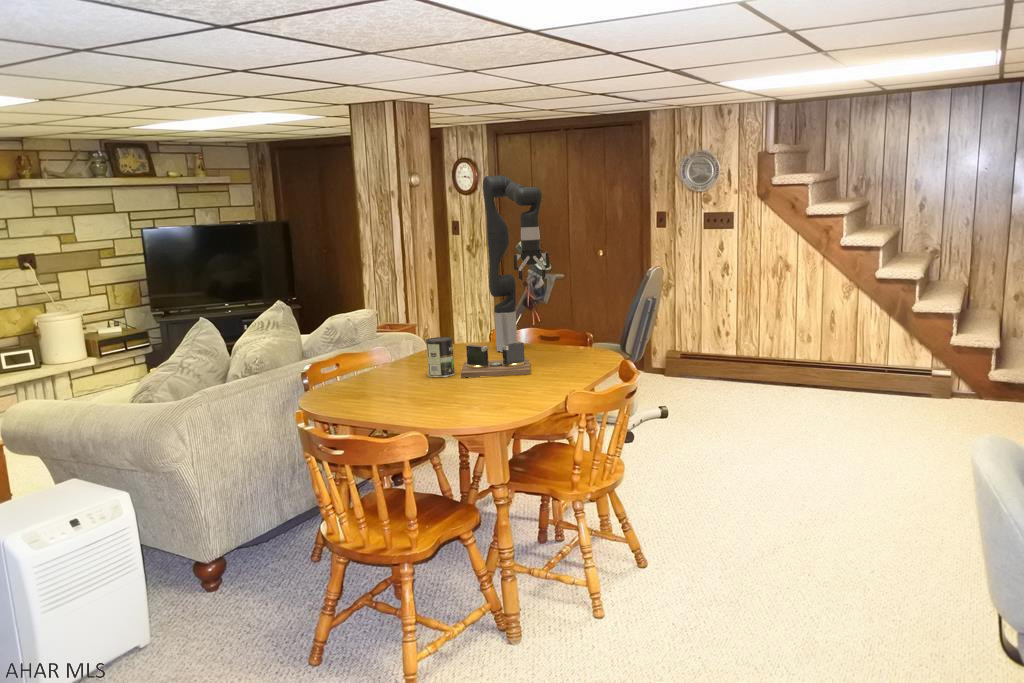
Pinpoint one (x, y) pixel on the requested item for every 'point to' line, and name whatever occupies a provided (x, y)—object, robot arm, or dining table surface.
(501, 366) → the base plate
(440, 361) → the coffee can
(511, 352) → the knob
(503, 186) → the robot arm
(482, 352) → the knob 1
